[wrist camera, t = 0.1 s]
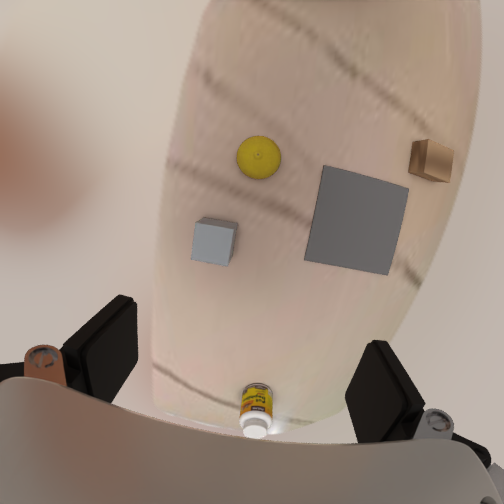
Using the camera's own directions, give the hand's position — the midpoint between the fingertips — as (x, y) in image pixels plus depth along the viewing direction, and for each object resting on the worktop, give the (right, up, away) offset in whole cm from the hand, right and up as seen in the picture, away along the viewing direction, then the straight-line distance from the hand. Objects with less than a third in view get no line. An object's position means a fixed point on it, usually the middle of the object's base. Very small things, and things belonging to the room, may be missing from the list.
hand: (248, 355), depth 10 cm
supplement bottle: (+1, -22, +38) cm, 44 cm away
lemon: (+1, +17, +28) cm, 33 cm away
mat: (+16, +8, +29) cm, 34 cm away
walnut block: (+27, +18, +26) cm, 41 cm away
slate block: (-5, +6, +31) cm, 32 cm away
